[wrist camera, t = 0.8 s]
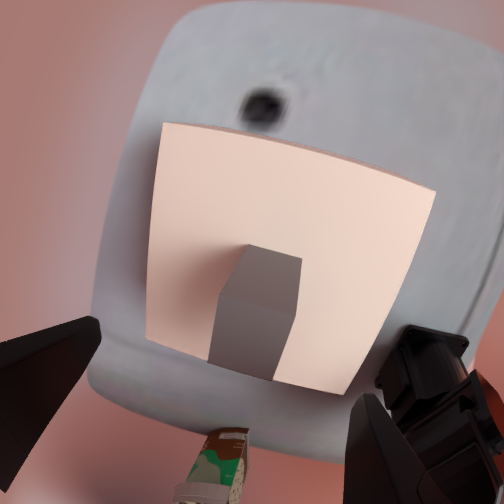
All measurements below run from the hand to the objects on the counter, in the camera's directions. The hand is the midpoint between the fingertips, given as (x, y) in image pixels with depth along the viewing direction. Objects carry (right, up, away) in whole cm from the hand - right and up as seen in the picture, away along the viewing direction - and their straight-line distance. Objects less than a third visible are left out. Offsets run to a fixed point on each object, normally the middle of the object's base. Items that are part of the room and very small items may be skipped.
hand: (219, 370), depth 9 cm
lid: (+2, +3, +5) cm, 6 cm away
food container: (-2, -19, +21) cm, 28 cm away
